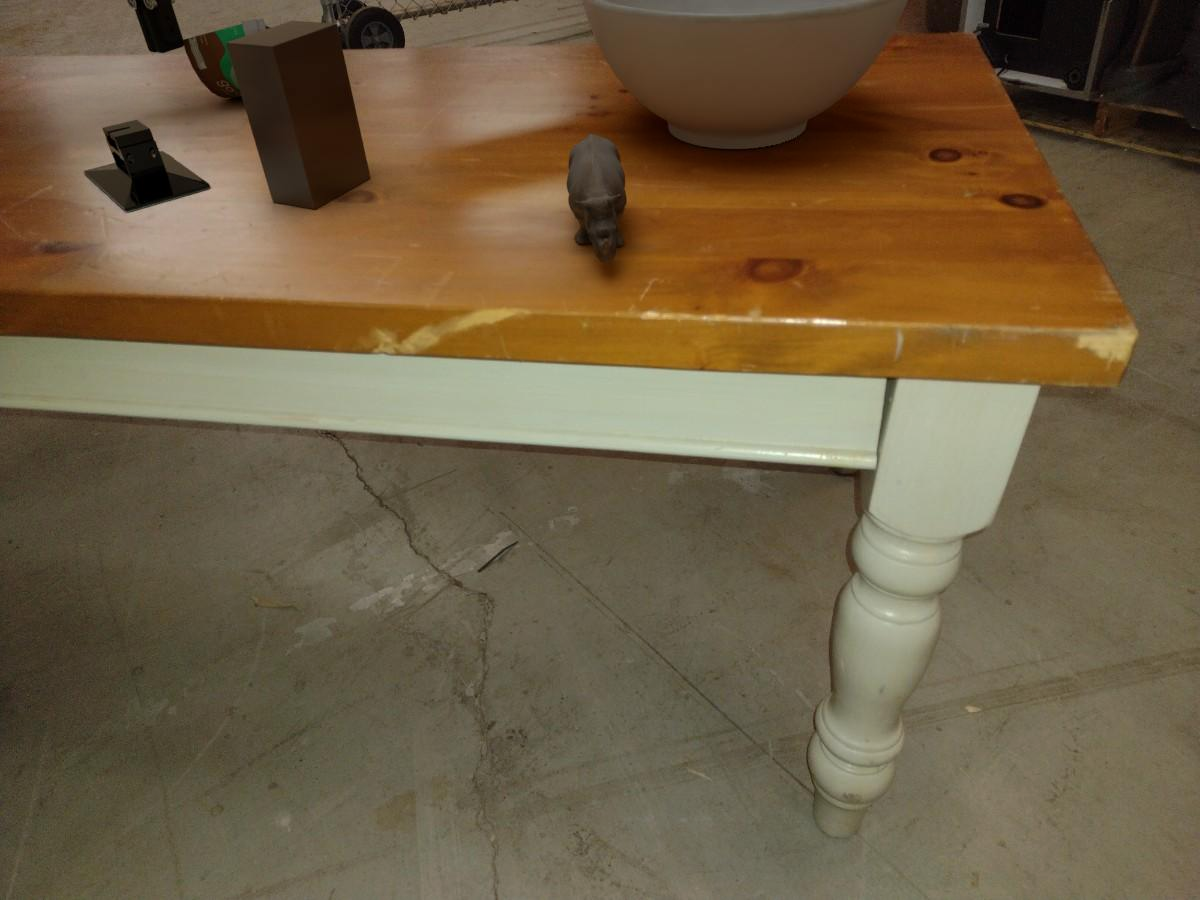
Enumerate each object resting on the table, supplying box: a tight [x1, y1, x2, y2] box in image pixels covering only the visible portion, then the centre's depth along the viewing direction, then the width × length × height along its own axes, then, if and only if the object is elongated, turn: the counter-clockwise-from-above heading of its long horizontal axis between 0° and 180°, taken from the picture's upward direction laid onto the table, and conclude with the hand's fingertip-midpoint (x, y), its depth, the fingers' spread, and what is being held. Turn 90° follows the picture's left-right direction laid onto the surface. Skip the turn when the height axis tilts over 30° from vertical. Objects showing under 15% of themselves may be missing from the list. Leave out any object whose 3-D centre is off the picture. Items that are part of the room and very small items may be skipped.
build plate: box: [83, 119, 211, 213], centre depth 74 cm, size 12×7×5 cm, turn 40°
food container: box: [183, 18, 271, 99], centre depth 92 cm, size 12×6×10 cm
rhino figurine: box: [566, 133, 628, 264], centre depth 59 cm, size 4×14×6 cm, turn 2°
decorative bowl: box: [581, 0, 909, 150], centre depth 75 cm, size 27×27×12 cm
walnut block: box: [226, 20, 371, 210], centre depth 68 cm, size 4×7×12 cm, turn 154°
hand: (167, 49), depth 88 cm, fingers closed
